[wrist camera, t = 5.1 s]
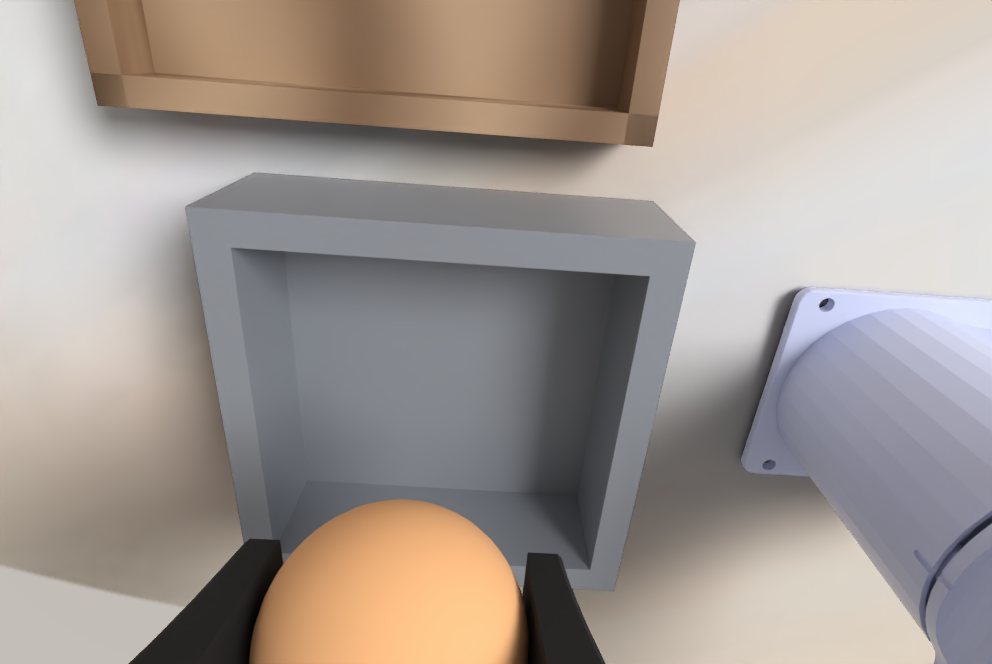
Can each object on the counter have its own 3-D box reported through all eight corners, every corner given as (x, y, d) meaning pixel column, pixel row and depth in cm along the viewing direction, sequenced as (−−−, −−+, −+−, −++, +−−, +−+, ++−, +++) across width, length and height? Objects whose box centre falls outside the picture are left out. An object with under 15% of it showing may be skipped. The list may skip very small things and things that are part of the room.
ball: (533, 453, 12) (554, 701, 7) (514, 616, 14) (521, 882, 9) (291, 440, 12) (160, 684, 7) (311, 605, 14) (220, 871, 9)
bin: (653, 201, 19) (695, 242, 15) (594, 501, 24) (613, 591, 20) (254, 172, 18) (185, 206, 14) (290, 484, 24) (248, 571, 20)
